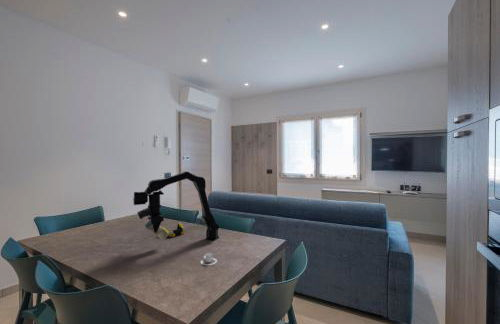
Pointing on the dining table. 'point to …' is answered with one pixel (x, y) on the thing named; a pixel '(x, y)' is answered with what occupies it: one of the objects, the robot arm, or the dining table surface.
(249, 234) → the dining table surface
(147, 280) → the dining table surface
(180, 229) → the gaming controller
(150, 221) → the robot arm
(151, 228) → the birch block
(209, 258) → the teacup and saucer
